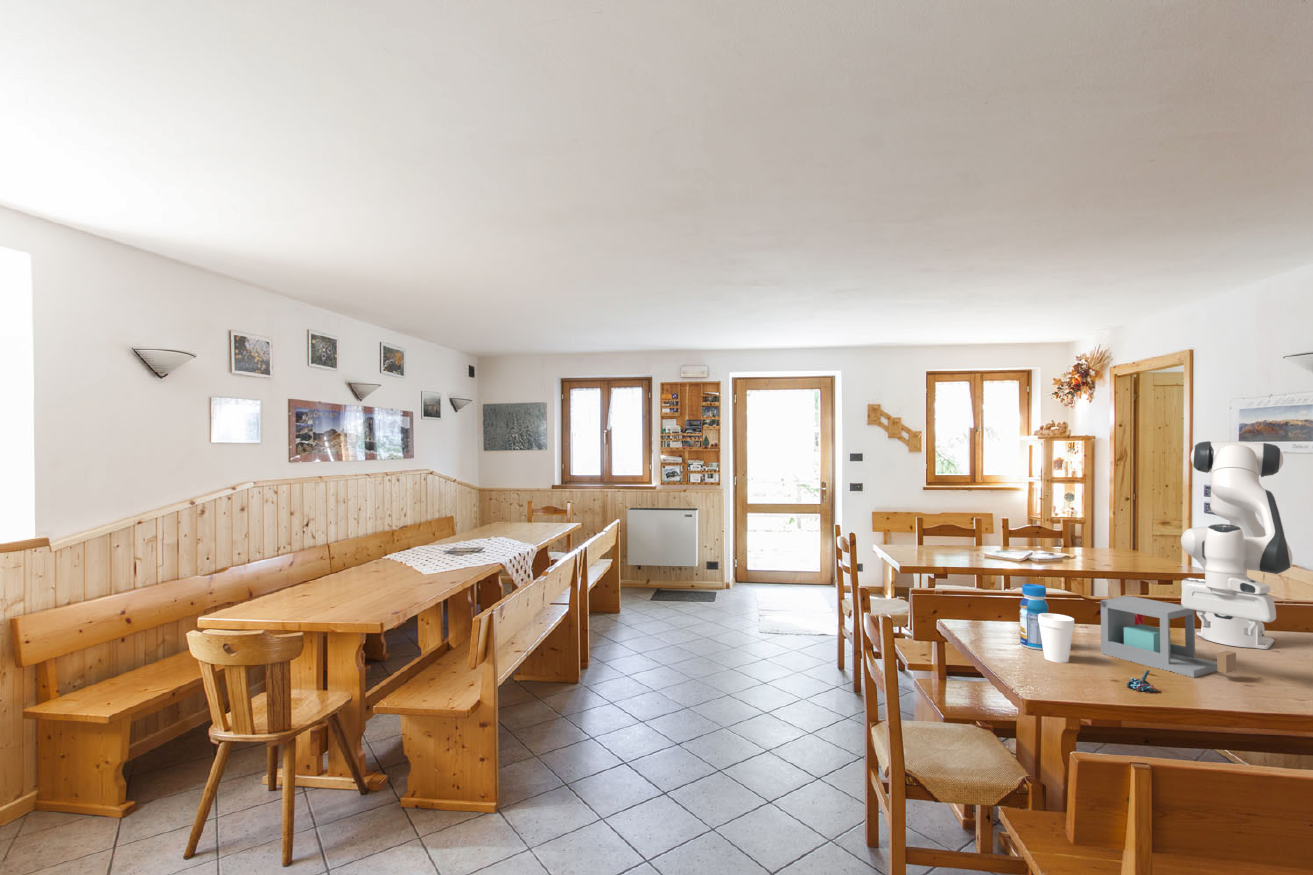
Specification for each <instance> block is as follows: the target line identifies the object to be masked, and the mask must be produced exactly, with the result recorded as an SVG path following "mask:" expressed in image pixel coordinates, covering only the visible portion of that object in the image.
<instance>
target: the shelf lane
mask: <svg viewBox="0 0 1313 875" xmlns="http://www.w3.org/2000/svg"><path fill="white" fill-rule="evenodd" d="M1135 613H1136V614H1141V615H1143V616H1147V617H1152V618H1158V619H1159V628H1160V653H1158V652H1154V651H1150V650H1146V649H1142V648H1137V647H1133V646H1129V645H1125V644H1124V627H1129V626H1133V625H1135ZM1181 617H1184V631H1185V632H1184V633H1185V634H1184V640H1185V642H1184V643H1185V645H1179V644H1175V643H1171V629H1170V626H1171V625H1170V620H1172V619H1177V618H1181ZM1195 620H1196V618H1195V610H1192V609H1186V608H1184V607H1183V606H1182V605H1181V604H1176V603H1171V602H1165V601H1160V600H1154V599H1149V598H1143V597H1136V596H1132V595H1123V596H1118V597H1113V598H1111V597H1110V598H1106V599H1100V637H1101V638H1100V640H1101V641H1100V645H1101V646H1100V647H1101V648H1100V650H1101V651H1100V653H1102V654H1101V655H1104V654H1106V655H1105V656H1108V655H1110V656H1109V657H1112V656H1113V657H1112V658H1115V657H1117V658H1116V659H1119V658H1120V659H1121V660H1123V659H1124V660H1123V661H1128V662H1131V661H1132V663H1134V664H1135V663H1136V664H1139V665H1143V666H1148V667H1151V668H1154V669H1158V668H1160V669H1159V670H1162V669H1164V670H1163V671H1166V670H1167V671H1166V672H1169V671H1172V672H1171V673H1173V672H1175V673H1174V674H1177V673H1178V674H1177V675H1181V676H1185V675H1187V676H1186V677H1189V676H1190V677H1189V678H1193V677H1195V678H1198V677H1201V676H1204V675H1208V674H1210V673H1211V674H1212V673H1214V672H1218V671H1217V668H1215V667H1211V666H1206V665H1202V664H1198V663H1194V662H1190V661H1186V660H1182V659H1177V658H1173V657H1170V645H1171V654H1175V655H1179V656H1183V657H1187V658H1192V659H1196V660H1200V661H1204V662H1208V663H1213V664H1217V661H1215V660H1210V659H1206V658H1203V657H1202V658H1201V657H1197V656H1196V635H1195V634H1196V633H1195V632H1196V630H1195V627H1196V626H1195ZM1197 676H1198V677H1197Z"/></svg>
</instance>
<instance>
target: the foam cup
mask: <svg viewBox="0 0 1313 875" xmlns="http://www.w3.org/2000/svg"><path fill="white" fill-rule="evenodd" d="M1038 623H1039V627H1040V633H1041V640H1042V646H1043V650H1042V651H1043V657H1044V659H1045V660H1047V661H1050V662H1054V663H1061V664H1063V663H1064V664H1065V663H1069V659H1070V653H1071V646H1072V639H1073V633H1074V628H1075V618H1073V617H1072V616H1069V615H1065V614H1059V613H1050V612H1048V613H1042V614H1039V615H1038Z"/></svg>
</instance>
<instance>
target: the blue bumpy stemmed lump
mask: <svg viewBox="0 0 1313 875" xmlns="http://www.w3.org/2000/svg"><path fill="white" fill-rule="evenodd" d="M1150 672H1151V671H1150V670H1147V669H1146V670H1145V671H1144V673H1143V674H1142V676H1141V678H1140V679H1139V678H1138V679H1137V678H1133V677H1130V680H1129V681H1127V682H1126V688H1127V689H1130V690H1132V689H1133V690H1132V691H1135V690H1136V692H1137V693H1142V692H1145V693H1144V694H1149V693H1153V692H1155V693H1156V692H1162V690H1158V688H1157V687H1155V686H1154V685H1153V684H1151V683H1150V682H1149V681H1147V677H1148V675H1149V673H1150ZM1156 688H1157V689H1156Z"/></svg>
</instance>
